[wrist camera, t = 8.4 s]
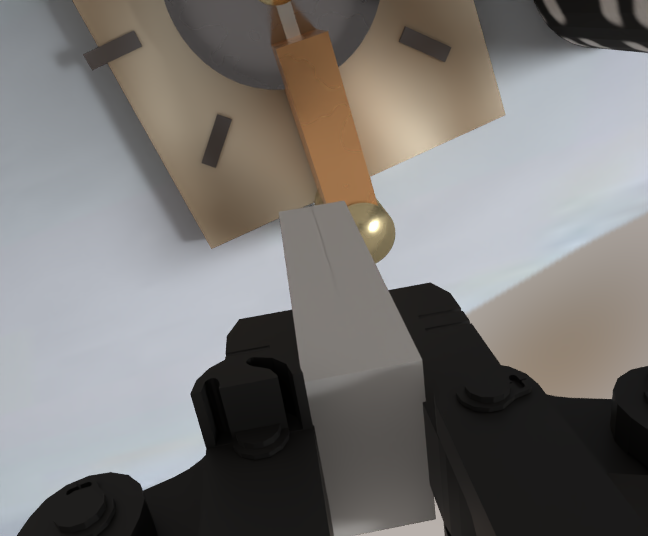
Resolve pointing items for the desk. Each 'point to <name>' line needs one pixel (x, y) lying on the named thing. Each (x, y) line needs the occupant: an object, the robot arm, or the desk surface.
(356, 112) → the panel
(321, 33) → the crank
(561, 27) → the spotted tube
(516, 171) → the desk surface
